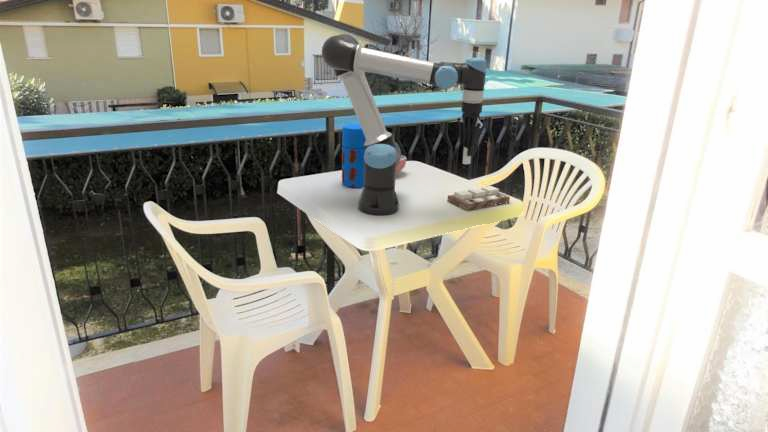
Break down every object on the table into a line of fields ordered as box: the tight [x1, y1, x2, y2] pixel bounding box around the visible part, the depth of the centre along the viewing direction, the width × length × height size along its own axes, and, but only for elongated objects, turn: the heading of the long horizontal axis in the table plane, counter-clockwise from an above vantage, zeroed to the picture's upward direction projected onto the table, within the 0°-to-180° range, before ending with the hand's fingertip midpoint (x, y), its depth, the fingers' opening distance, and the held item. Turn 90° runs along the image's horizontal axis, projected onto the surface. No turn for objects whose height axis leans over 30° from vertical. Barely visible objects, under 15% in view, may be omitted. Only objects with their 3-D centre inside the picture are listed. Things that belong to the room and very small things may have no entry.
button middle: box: [467, 187, 486, 198], centre depth 211 cm, size 5×5×2 cm
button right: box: [480, 185, 500, 196], centre depth 215 cm, size 5×5×2 cm
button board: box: [446, 192, 511, 212], centre depth 211 cm, size 22×12×3 cm, turn 122°
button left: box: [453, 189, 472, 201], centre depth 208 cm, size 5×5×2 cm
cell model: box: [396, 154, 407, 174], centre depth 241 cm, size 17×20×11 cm
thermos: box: [341, 123, 366, 189], centre depth 222 cm, size 11×11×25 cm
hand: (466, 163), depth 203 cm, fingers closed
